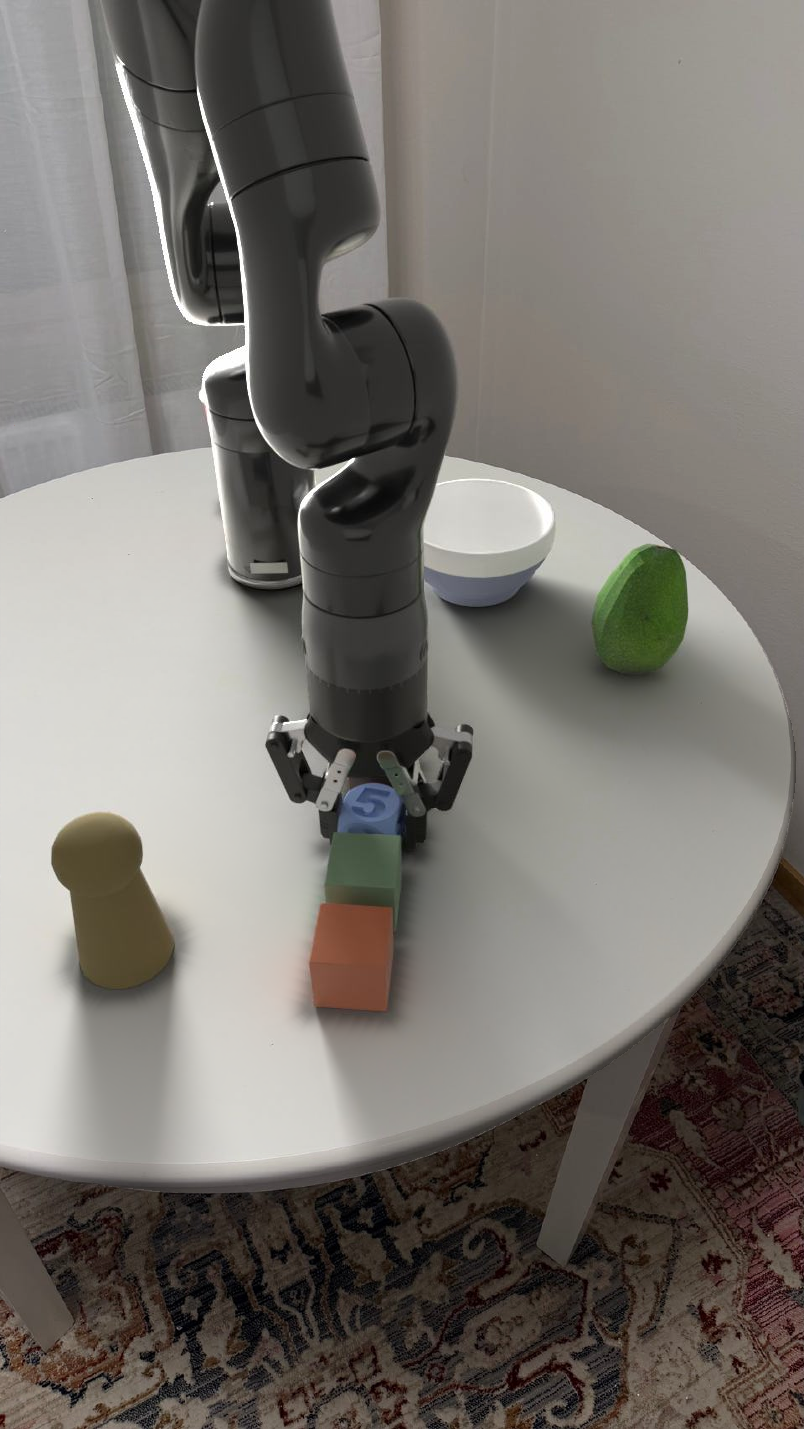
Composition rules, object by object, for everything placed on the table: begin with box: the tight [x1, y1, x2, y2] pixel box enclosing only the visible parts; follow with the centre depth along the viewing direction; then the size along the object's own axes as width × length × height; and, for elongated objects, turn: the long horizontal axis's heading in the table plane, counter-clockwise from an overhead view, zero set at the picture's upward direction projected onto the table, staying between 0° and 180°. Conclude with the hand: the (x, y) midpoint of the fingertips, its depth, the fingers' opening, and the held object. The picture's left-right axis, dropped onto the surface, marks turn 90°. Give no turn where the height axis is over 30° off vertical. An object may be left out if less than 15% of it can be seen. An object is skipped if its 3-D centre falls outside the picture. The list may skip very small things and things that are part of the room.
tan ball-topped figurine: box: [50, 811, 175, 990], centre depth 62 cm, size 6×6×11 cm
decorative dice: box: [337, 783, 407, 844], centre depth 71 cm, size 4×4×4 cm
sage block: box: [323, 832, 403, 933], centre depth 66 cm, size 4×4×4 cm
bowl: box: [424, 478, 557, 608], centre depth 95 cm, size 14×14×8 cm
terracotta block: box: [308, 902, 395, 1013], centre depth 62 cm, size 4×4×4 cm
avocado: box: [591, 543, 689, 675], centre depth 84 cm, size 8×8×12 cm
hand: (374, 838), depth 72 cm, fingers open, 4 cm apart
